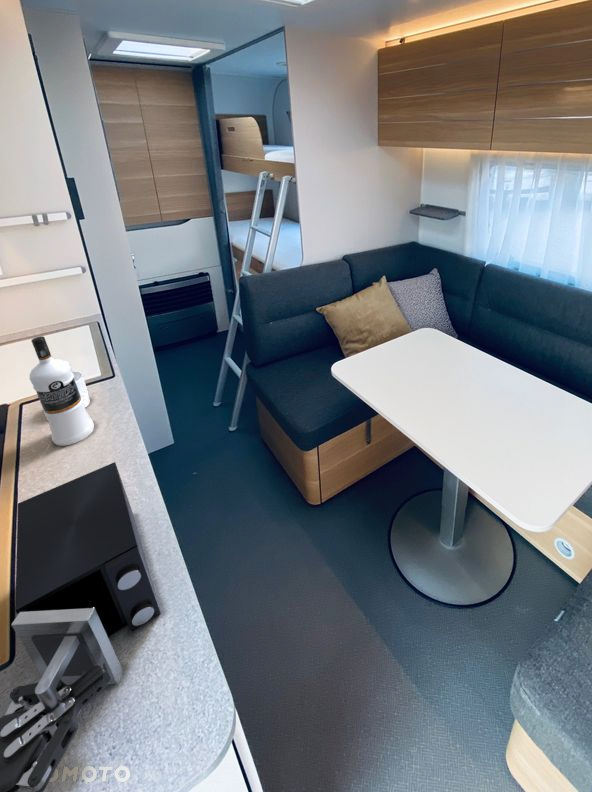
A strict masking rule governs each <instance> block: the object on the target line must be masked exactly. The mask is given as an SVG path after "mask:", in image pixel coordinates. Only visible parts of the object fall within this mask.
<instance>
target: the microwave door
mask: <svg viewBox="0 0 592 792" xmlns="http://www.w3.org/2000/svg"><path fill="white" fill-rule="evenodd" d="M10 626H11V627H12V629H13V630H14V632H15V634H16V636H17V637H18V639H19V640H20V642H21V644H22V645H23V647H24V649H25V650H26V653H27V654H28V656H29V657H30V659H31V661H32V663H33V664H34V666H35V667H36V669H37V671H38V672H39V675H40V676H41V678H40V679H39V681H38V682H37V683H38V685H37V686H36V689H35V693H36V695H37V697H38V698H39V700H40V701H41V703H42V705H43V706H44V708H45V709H46V711H47V712H48V713H51V712H53V711H54V710H55V709H56V708H58V707H59V706H60V705H61V704H62V703H63V701H62V702H61V700H60V699H61V697H60V695H59V693H58V691H57V690H56V687H57V685H58V683H59V681H60V679H61V680H62V682H64V683H65V684H66V685H71V684H73V683H74V682H75V681H77V680H78V679H79V678H80V677H82V676H83V675H84V674H86V673H87V672H88V671H89V670H90V669H92V668H93V667H94V666H96V665H101V664H103V663H104V664H105V666H106V668H107V670H108V673H109V675H110V680H109V682H108V683H107V685H115V684H118V683H119V681H120V680H121V679H120V678H121V677H122V674H123V672H124V670H123V669H124V668H123V667H122V664H121V663H120V660H119V658H118V656H117V654H116V651H115V650H114V648H113V644H112V642H111V640H110V639H109V638H110V637H109V638H108V636H107V634H106V632H105V630H104V627H103V625H102V623H101V621H100V618H99V616H98V614H97V612H96V610H95V608H83V609H64V610H46V611H27V612H20V613H19V614H18V615H16V617H15V618H14V620H13V621H12V622H11V625H10ZM83 708H84V707H82V708H81V710H80V711H79V713H78V716H77V719H78V718H79V716H80V714H81V712H82V709H83Z"/></svg>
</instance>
